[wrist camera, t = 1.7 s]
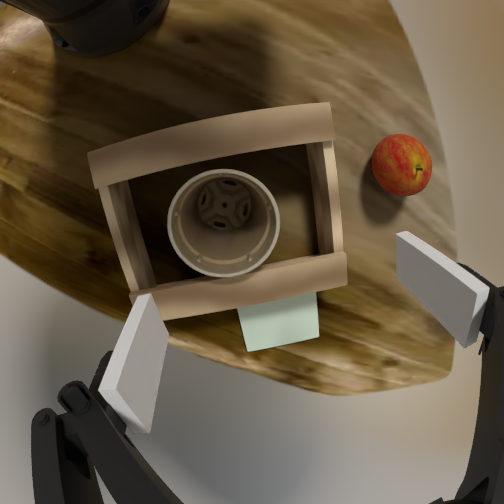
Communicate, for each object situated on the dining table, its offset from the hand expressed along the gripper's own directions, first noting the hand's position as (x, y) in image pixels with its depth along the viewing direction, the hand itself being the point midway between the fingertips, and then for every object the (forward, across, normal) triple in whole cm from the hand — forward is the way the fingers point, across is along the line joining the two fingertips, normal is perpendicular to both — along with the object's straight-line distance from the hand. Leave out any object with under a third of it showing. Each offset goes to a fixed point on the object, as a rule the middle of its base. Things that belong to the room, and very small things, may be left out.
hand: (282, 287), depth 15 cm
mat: (+19, 0, -15) cm, 24 cm away
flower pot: (+20, -3, 0) cm, 20 cm away
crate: (+19, -3, 0) cm, 20 cm away
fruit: (+20, +17, +1) cm, 26 cm away
